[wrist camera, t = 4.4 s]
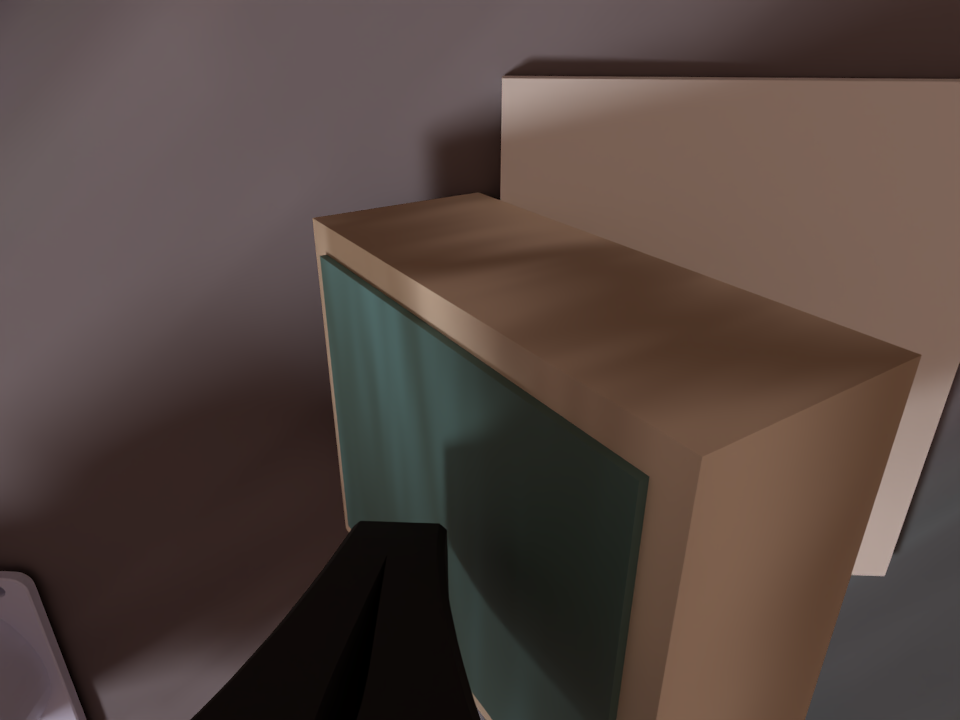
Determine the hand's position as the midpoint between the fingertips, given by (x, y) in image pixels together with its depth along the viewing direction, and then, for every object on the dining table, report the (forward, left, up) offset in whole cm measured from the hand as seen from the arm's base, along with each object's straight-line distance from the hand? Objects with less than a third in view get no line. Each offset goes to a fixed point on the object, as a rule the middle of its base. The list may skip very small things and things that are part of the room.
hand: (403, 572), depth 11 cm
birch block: (-1, 0, -7) cm, 7 cm away
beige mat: (+7, 0, -8) cm, 10 cm away
